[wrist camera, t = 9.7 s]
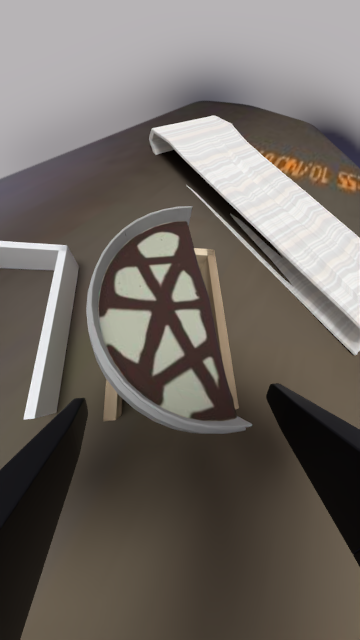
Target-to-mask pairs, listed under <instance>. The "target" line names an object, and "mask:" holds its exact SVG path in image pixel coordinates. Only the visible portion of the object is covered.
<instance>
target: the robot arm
mask: <svg viewBox="0 0 360 640" xmlns="http://www.w3.org/2000/svg"><path fill="white" fill-rule="evenodd" d="M266 398H267V401H268V403H269V405H270V408H271V410H272V412H273V414H274V416H275V418H276V420H277V422H278V425H279V427H280V429H281V431H282V432H283V434H284V436H285V438H286V439H287V441H288V443H289V445H290V446H291V448H292V450H293V452H294V453H295V455H296V457H297V458H298V460H299V462H300V464H301V465H302V467H303V469H304V471H305V472H306V474H307V476H308V478H309V479H310V481H311V483H312V484H313V486H314V488H315V490H316V491H317V493H318V495H319V497H320V498H321V500H322V502H323V504H324V505H325V507H326V509H327V510H328V512H329V514H330V516H331V517H332V519H333V521H334V523H335V524H336V526H337V528H338V530H339V531H340V533H341V535H342V536H343V538H344V540H345V542H346V543H347V545H348V547H349V549H350V550H351V552H352V554H354V558H355V559H356V561H357V563H358V564H359V566H360V430H359V429H358V428H356V427H354V426H353V425H351V424H349V423H347V422H346V421H344V420H342V419H340V418H339V417H337V416H335V415H333V414H332V413H330V412H328V411H326V410H325V409H323V408H321V407H319V406H318V405H316V404H314V403H312V402H311V401H309V400H307V399H305V398H304V397H302V396H300V395H298V394H297V393H295V392H293V391H291V390H290V389H288V388H286V387H284V386H283V385H281V384H278V383H276V384H271V385H270V387H269V389H268V392H267V395H266ZM87 416H88V410H87V404H86V400H85V398H76V399H74V400H72V401H71V402H70V403H69V404H68V405H67V406H66V407H65V408H64V409H63V410H62V411H61V412H60V413H59V414H58V415H57V416H56V417H55V418H54V419H53V420H52V421H51V422H50V423H48V424H47V425H46V426H45V427H44V428H43V429H42V430H41V431H40V432H39V433H38V434H37V435H36V436H35V437H34V438H33V439H32V440H31V441H30V442H29V443H28V444H27V445H26V446H25V447H24V448H23V449H21V450H20V451H19V452H18V453H17V454H16V455H15V456H14V457H13V458H12V459H11V460H10V461H9V462H8V463H7V464H6V465H5V466H4V467H3V468H2V469H1V470H0V640H20V638H21V635H22V632H23V629H24V626H25V622H26V619H27V616H28V613H29V610H30V607H31V604H32V601H33V598H34V595H35V591H36V588H37V585H38V582H39V579H40V576H41V573H42V570H43V567H44V563H45V560H46V557H47V554H48V551H49V548H50V545H51V542H52V539H53V535H54V532H55V529H56V526H57V523H58V520H59V517H60V514H61V511H62V507H63V504H64V501H65V498H66V495H67V492H68V489H69V486H70V483H71V480H72V476H73V473H74V470H75V467H76V464H77V461H78V457H79V454H80V449H81V445H82V440H83V435H84V431H85V426H86V421H87Z"/></svg>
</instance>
